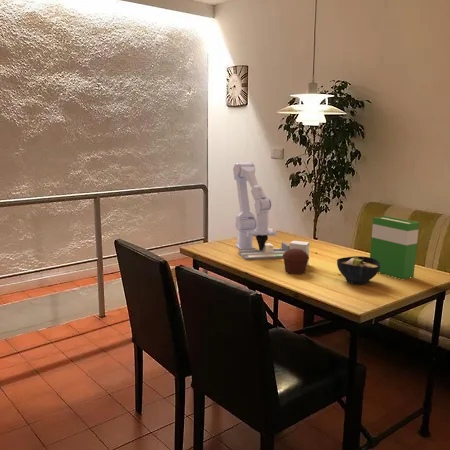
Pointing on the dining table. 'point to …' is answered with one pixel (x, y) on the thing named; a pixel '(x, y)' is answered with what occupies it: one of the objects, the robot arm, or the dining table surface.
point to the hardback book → (394, 246)
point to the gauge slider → (268, 247)
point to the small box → (300, 247)
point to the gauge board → (264, 253)
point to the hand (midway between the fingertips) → (261, 250)
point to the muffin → (295, 261)
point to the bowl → (358, 269)
